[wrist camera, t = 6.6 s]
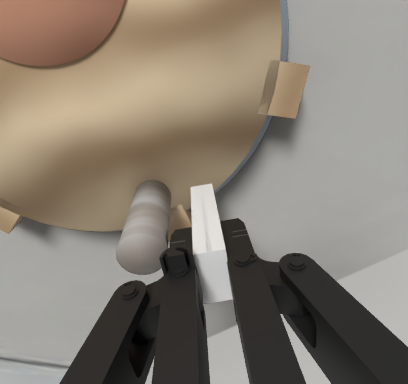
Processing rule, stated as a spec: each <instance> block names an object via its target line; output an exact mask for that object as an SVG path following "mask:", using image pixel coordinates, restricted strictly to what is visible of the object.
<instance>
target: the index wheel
mask: <svg viewBox="0 0 408 384" xmlns="http://www.w3.org/2000/svg"><path fill="white" fill-rule="evenodd" d="M281 37H282V28H281V8H280V0H0V230H2V231H4V232H6V233H8V234H9V233H10V232H11V231H12V230H13V229H14V228H15V227H16V226H17V225H18V223H19V222H20V221H21V219H22V218H23V217H26V218H29V219H32V220H35V221H38V222H40V223H44V224H49V225H53V226H57V227H61V228H67V229H75V230H82V231H118V230H123V231H122V234H121V237H120V240H119V244H118V247H117V250H116V258H117V261H118V263H119V264H120V265H121V267H122V268H124V269H125V270H127V271H128V272H130V273H133V274H138V275H147V274H152V273H154V272H156V271H158V270H160V269H161V268H162V266H161V263H160V259H159V258H160V255H161V254H162V253H163V252H164V251H165V250H167V249H168V241H170V239H171V235H172V233H173V232H174V231H175V230H176V229H182V228H188V227H192V215H191V213H190V211H189V208H191V187H194V186H200V185H205V184H211V183H212V186H213V191H215V190H216V189H218V188H219V187H220V186H221V185H222V184H223V183H224V181H225V180H226V179H227V178H228V177H229V176H230V175H231V174H232V173H233V172H234V171H235V170H236V168H237V167H238V166H239V164H240V163H241V162H242V161H243V159H244V158H245V157H246V155H247V154H248V152H249V150H250V148H251V147H252V145H253V143H254V142H255V140H256V138H257V137H258V135H259V132H260V130H261V128H262V125H263V123H264V121H265V119H266V116H267V115H272V116H279V117H286V118H293V119H295V118H296V115H297V111H298V108H299V104H300V101H301V97H302V94H303V90H304V87H305V83H306V79H307V76H308V72H309V69H310V66H307V65H301V64H295V63H289V62H283V61H280V53H281Z"/></svg>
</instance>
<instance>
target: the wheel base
mask: <svg viewBox="0 0 408 384" xmlns="http://www.w3.org/2000/svg"><path fill="white" fill-rule="evenodd" d="M280 8H281V28H282V37H281V53H280V61H283V62H286V61H287V55H288V32H289V20H288V6H287V0H280ZM271 118H272V115H267V116H266V119H265V121H264V123H263V125H262V128H261V130H260V132H259V135H258V137H257V138H256V140H255V142H254V143H253V145H252V147H251V148H250V150H249V152H248V154H247V155H246V157H245V158H244V159H243V161H242V162H241V163H240V164H239V166H238V167H237V168H236V170H235V171H234V172H233V173H232V174H231V175H230V176H229V177H228V178H227V179H226V180H225V181H224V183H223V184H222V185H221V186H220V187H219V188H218V189H216V190H215V191H214V194H215V193H216V192H218V191H219V190H220V189H221V188H222V187H224V186H225V185H226V184H227V183H228V182H229V181H230V180H231V179H232V178H233V177H234V176H235V175H236V174H237V173H238V172H239V171H240V169H241V168H242V167H243V166H244V165H245V163H246V162H247V161H248V159H249V158H250V156H251V155H252V154H253V152H254V151H255V150H256V148H257V146H258V144H259V143H260V141H261V139H262V137H263V135H264V134H265V132H266V130H267V128H268V125H269V123H270V121H271ZM190 209H191V208H189V210H190Z"/></svg>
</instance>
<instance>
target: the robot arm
mask: <svg viewBox="0 0 408 384" xmlns="http://www.w3.org/2000/svg"><path fill="white" fill-rule="evenodd" d="M191 215H192V227H188V228H182V229H176V230H175V231H174V232H173V233H172V235H171V239H170V248H168V249H167V250H165V251H164V252H163V253H162V254H161V255H160V258H159V259H160V263H161V266H162V270H163V273H164V276H163V277H162V278H161V279H159V280H158V281H156V282H154V283H151V284H149V285H147V286H146V285H145V284H144V283H143V282H142V281H137V280H135V281H129V282H127V283H124V284H123V285H121V286H120V287H119V288H118V289H117V290H116V291H115V292H114V294H113V296H112V297H111V299H110V301H109V302H108V304H107V306H106V307H105V309H104V311H103V312H102V314H101V316H100V317H99V319H98V321H97V322H96V324H95V326H94V327H93V329H92V331H91V332H90V334H89V336H88V337H87V339H86V341H85V342H84V344H83V346H82V347H81V349H80V351H79V352H78V354H77V356H76V357H75V359H74V361H73V362H72V364H71V366H70V367H69V369H68V370H67V372H66V374H65V375H64V377H63V379H62V380H61V382H60V384H145V382H146V379H147V376H148V373H149V370H150V367H151V364H152V362H153V359H154V367H153V377H152V384H210V376H209V361H208V347H207V332H206V317H205V311H204V306H203V302H204V304H207V303H214V302H220V301H226V300H232V299H233V302H234V308H235V315H236V321H237V324H238V328H239V333H240V338H241V343H242V348H243V353H244V358H245V363H246V368H247V373H248V378H249V383H250V384H306V382H305V379H304V377H303V374H302V371H301V369H300V366H299V364H298V361H297V358H296V355H295V353H294V350H293V347H292V345H291V342H290V339H289V337H288V334H287V331H286V329H285V326H284V323H283V321H282V318H281V315H280V314H283V316H284V318H285V319H286V321H287V322H288V324H289V325H290V326H291V328H292V329H293V331H294V332H295V333H296V335H297V336H298V337H299V339H300V340H301V342H302V343H303V345H304V346H305V347H306V349H307V350H308V352H309V353H310V354H311V356H312V357H313V359H314V360H315V361H316V363H317V364H318V366H319V367H320V368H321V370H322V371H323V373H324V374H325V375H326V377H327V378H328V379H329V381H330V382H331V384H408V347H407V346H406V345H405V344H404V343H403V342H402V341H401V340H399V339H398V338H397V337H396V336H395V335H394V334H393V333H392V332H391V331H390V330H389V329H388V328H386V327H385V326H384V325H383V324H382V323H381V322H380V321H379V320H378V319H377V318H375V317H374V316H373V315H372V314H371V313H370V312H369V311H368V310H367V309H366V308H365V307H364V306H363V305H361V304H360V303H359V302H358V301H357V300H356V299H355V298H354V297H353V296H352V295H351V294H349V293H348V292H347V291H346V290H345V289H344V288H343V287H342V286H341V285H340V284H339V283H337V282H336V281H335V280H334V279H333V278H332V277H331V276H330V275H329V274H328V273H327V272H326V271H324V270H323V269H322V268H321V267H320V266H319V265H318V264H317V263H316V262H315V261H314V260H312V259H311V258H310V257H308V256H307V255H304V254H300V253H291V254H287V255H285V256H283V257H282V258H281V260H280V262H269V261H265V260H262V259H260V258H259V257H258V256H257V255H256V254H255V252H254V250H253V247H252V244H251V241H250V238H249V236H248V233H247V230H246V227H245V224H244V222H242V221H241V220H240V219H239V218H237V219H231V220H225V221H220V220H219V215H218V210H217V205H216V200H215V196H214V191H213V186H212V183H211V184H205V185H200V186H194V187H191ZM154 356H155V358H154Z"/></svg>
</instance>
